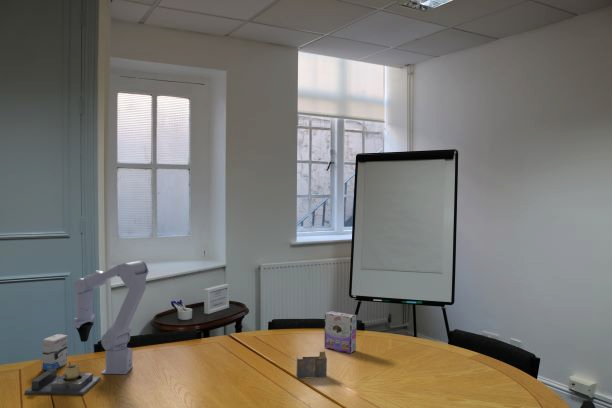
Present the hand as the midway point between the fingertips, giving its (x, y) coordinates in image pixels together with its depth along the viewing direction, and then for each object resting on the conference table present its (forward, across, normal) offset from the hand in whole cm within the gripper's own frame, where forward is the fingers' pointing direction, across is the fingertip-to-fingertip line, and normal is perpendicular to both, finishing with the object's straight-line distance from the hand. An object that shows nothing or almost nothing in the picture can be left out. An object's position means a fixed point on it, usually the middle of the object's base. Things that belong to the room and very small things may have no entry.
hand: (84, 341), depth 193 cm
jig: (+9, +22, +3) cm, 24 cm away
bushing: (+8, +22, +6) cm, 24 cm away
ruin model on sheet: (+10, +8, +91) cm, 92 cm away
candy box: (+10, -25, +105) cm, 108 cm away
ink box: (+10, +3, -10) cm, 14 cm away
